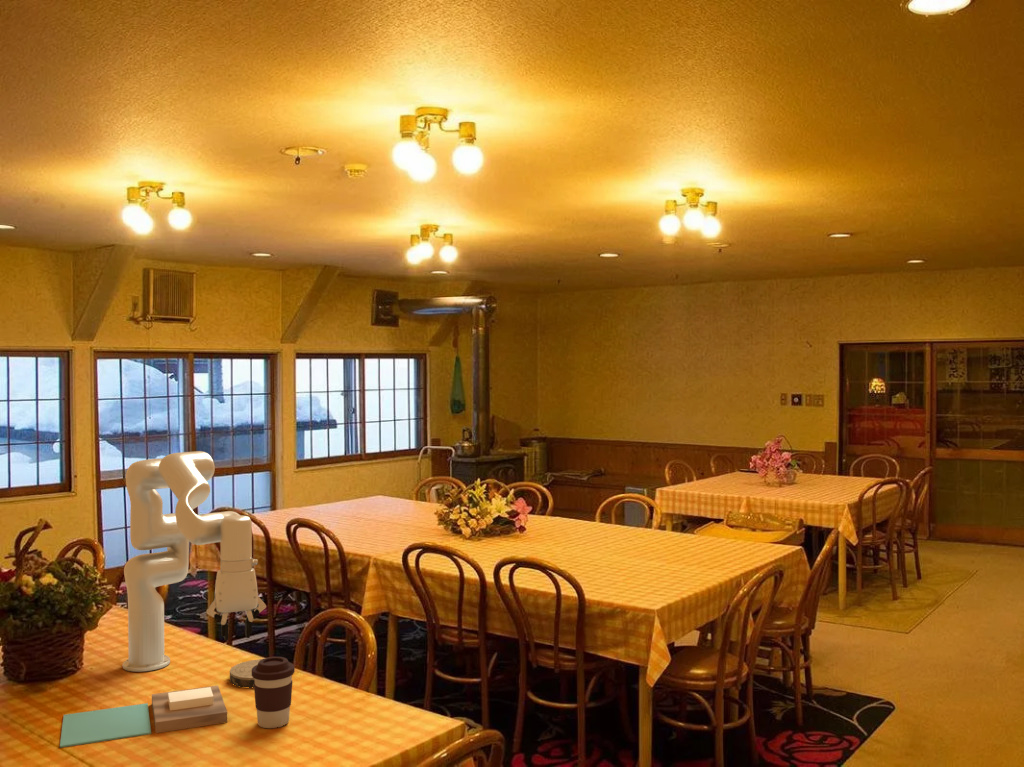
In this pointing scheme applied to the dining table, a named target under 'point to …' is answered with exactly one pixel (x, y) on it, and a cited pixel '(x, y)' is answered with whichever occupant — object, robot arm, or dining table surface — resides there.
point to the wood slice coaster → (243, 674)
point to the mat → (105, 725)
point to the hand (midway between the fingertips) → (236, 637)
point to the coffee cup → (273, 691)
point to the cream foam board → (190, 698)
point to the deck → (187, 713)
